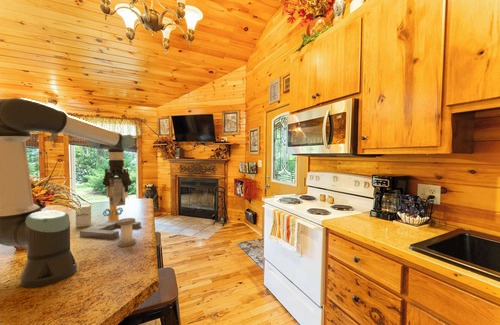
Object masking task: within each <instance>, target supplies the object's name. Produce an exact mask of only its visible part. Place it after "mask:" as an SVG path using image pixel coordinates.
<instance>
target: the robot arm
mask: <svg viewBox="0 0 500 325" xmlns="http://www.w3.org/2000/svg"><path fill="white" fill-rule="evenodd" d="M31 132H37V133H38V132H42V133H49V134H53V135H58V134H63V135H68V136H71V137H75V138H79V139H82V140H86V144H87V146H88V147H89V148H90V149H95V150H98V149H99V150H108V167H109V168H105V169H104V175H103V176H104V177H103V180H102V186H105V192H106V198H109V178H112V177H119V178H122V183H123V185H124V186H123V198H125V199H126V198H128V197H129V196H128V192H129V187H130V186H132V181H131V177H130V175H129V169H128V168H124V165H125V161H124V159H125V157H124V156H125V155H124V153H125V152H124V150H126V149H131V148H132V147H133V146H134V144H135V139H134V136H133V135H132V134H130V133H129V134H128V133H120V132H117V131H113V130H111V129H108V128H105V127H102V126H100V125H96V124H93V123H91V122H89V121H86V120H83V119H79V118H77V117H74V116H71V115H69V114H67V112H66V111H64V110H63V109H60V108H57V107H54V106H51V105H48V104H45V103H42V102H39V101H36V100H32V99H28V98H23V97H11V98H0V245H2V246H7V247H21V248H26V257H27V259H26V262H25V265H24V268H23V271H22V273H21V276H20V286H21V287H23V288H27V289H28V288H29V289H30V288H39V287H44V286H48V285H52V284H55V283H57V282H60V281H62V280H64V279H66V278H68V277H71V276H72V275H73V274H75V272H76V271H77V268H78V267H77V261H76V260H75V257H74V255H73V253H72V250H71V220H70V214H68V213H67V212H66V211H63V210H58V209H57V210H54V209H53V210H49V209H48V210H41V209H40V205H38V204H35V203H34V198H33V197H34V196H33V191H32V183H31V182H32V181H31V175H30V167H29V160H28V159H29V158H28V153H27V152H28V151H27V144H26V143H27V141H28V140H29V139H31ZM123 178H125V180H124V179H123Z"/></svg>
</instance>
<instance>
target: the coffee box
mask: <svg viewBox="0 0 500 325" xmlns="http://www.w3.org/2000/svg"><path fill="white" fill-rule="evenodd" d="M123 179H124V180H125V178H123ZM123 186H124V185H123V183H122V178H119V177H118V176H115V177H112V178H109V197H108V198H109V199H108V200H109V201H108V202H109V206H110V205H112V206H117V207H120V206H121V207H122V206H125V205H126V198H123Z"/></svg>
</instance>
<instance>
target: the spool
mask: <svg viewBox="0 0 500 325" xmlns="http://www.w3.org/2000/svg"><path fill="white" fill-rule="evenodd" d="M135 222H136V218H134V217H128V218H127V217H125V218H122V219H119V220H118V221H117V224H118V225H121V228H120V240H119V241H118V242H117V247H119V248H127V247H131V246H133V245H135V244H136V243H137V240H136V239H135V238H133V229H132V223H135Z"/></svg>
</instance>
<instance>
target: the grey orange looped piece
mask: <svg viewBox="0 0 500 325" xmlns="http://www.w3.org/2000/svg"><path fill="white" fill-rule="evenodd" d="M123 211H124V209H123V208H122V207H118V206H112V205H110V204H109V208H106V209H105V210H103V212H102V215H103V217H107V221H110V220H117V221H118V220H120V219H119V218H120V217H119V216H120V215H122V213H123ZM107 212H108V213H107Z"/></svg>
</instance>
